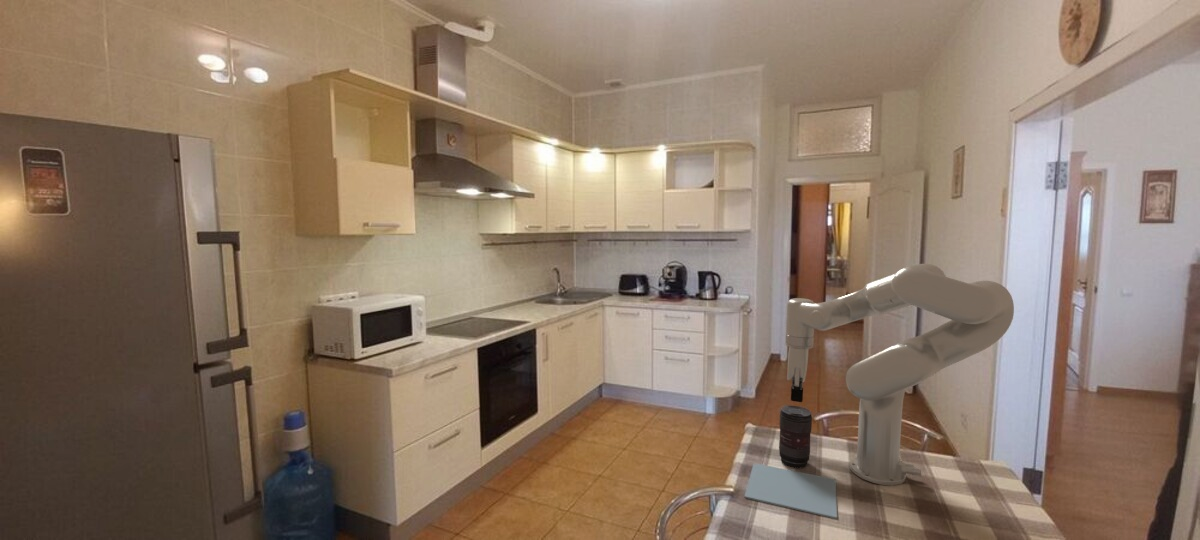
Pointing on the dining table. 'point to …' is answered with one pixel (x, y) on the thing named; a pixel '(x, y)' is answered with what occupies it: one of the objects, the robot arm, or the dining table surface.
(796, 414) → the camera lens
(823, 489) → the blue mat
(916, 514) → the dining table surface
